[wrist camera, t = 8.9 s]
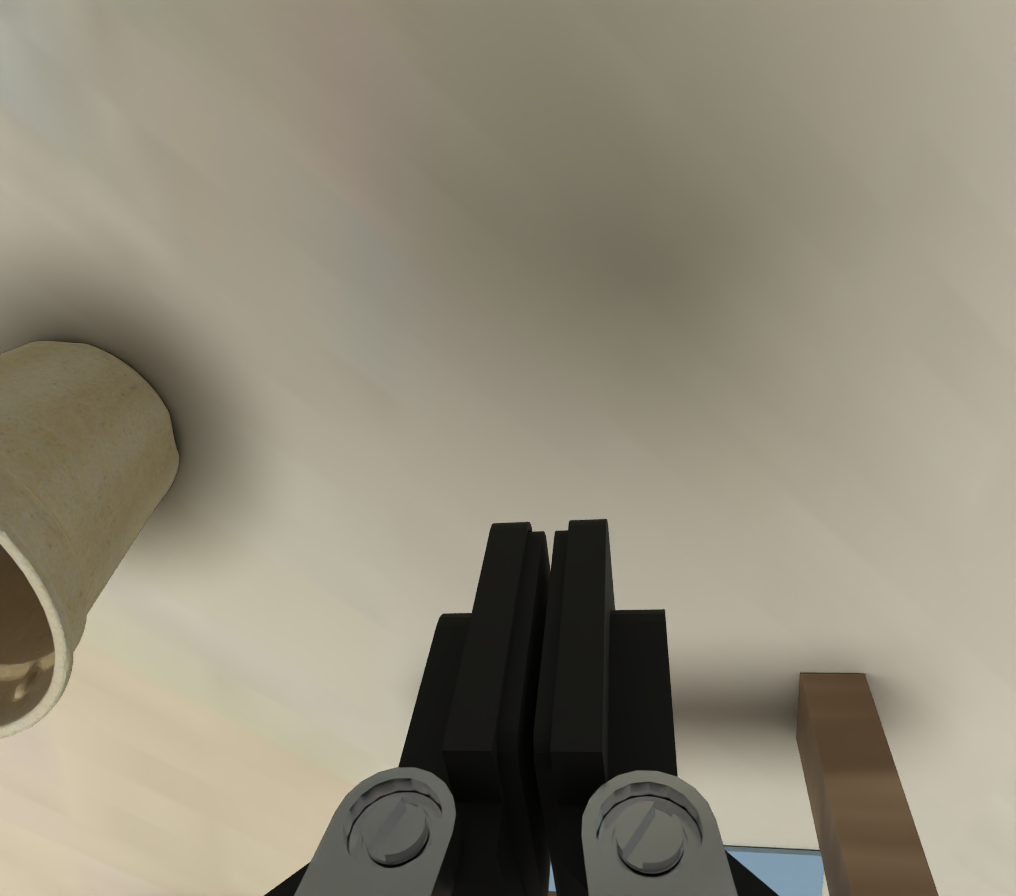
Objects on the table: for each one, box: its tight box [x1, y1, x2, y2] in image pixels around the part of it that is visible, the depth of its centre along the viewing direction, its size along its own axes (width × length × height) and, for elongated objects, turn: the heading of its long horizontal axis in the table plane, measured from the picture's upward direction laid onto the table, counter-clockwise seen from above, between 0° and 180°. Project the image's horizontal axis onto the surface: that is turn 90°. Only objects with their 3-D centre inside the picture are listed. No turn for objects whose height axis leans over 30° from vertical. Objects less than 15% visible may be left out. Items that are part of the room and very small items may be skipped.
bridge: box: [548, 673, 938, 896], centre depth 24 cm, size 3×14×9 cm, turn 97°
